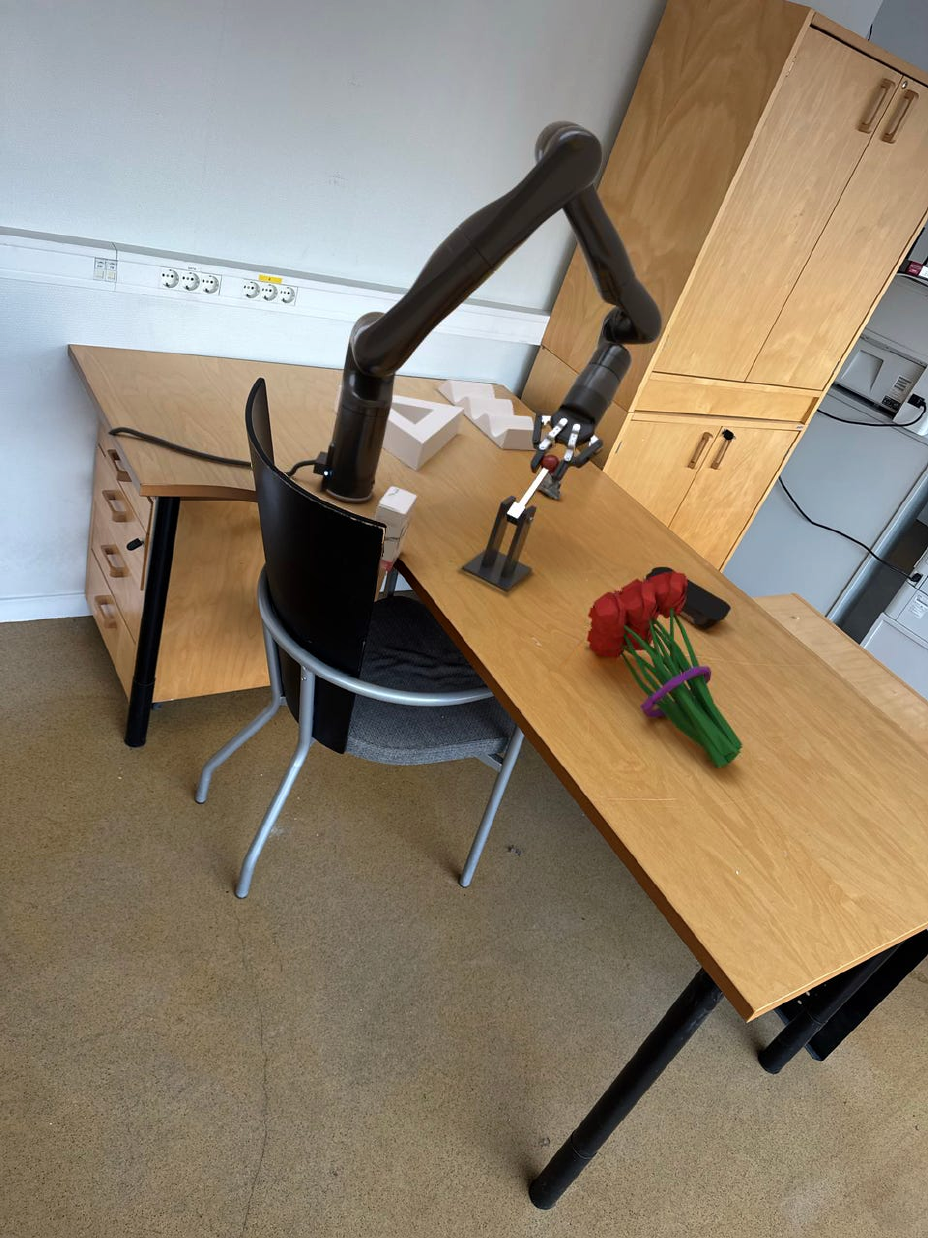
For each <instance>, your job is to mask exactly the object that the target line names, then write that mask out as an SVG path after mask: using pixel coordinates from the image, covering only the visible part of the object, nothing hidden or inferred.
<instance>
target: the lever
mask: <svg viewBox="0 0 928 1238" xmlns="http://www.w3.org/2000/svg"><path fill="white" fill-rule="evenodd" d="M560 461H561V460H560V459H559V457H558V456H557V455H555V454H546V455H545V457H544V458H543V459H542V461H541V466H540V468H541V471H540V472H539V475H537V476H536V477H537V478H536V477H535V478H536V479H535V478H534V480H533V482H532V483H531V485H530V487H529V488H528V489H527V491H526V492H525V494H524V495H523V497H522V498H521V499H520V501H519V502H516V501H515V502H514V503H513V505H512V506H511V508H510V509H509V511H508V512H507V521H508V523H510V524H512V525H514V526H516V527H517V525H518V522H519V519H520V516H521V513H522V512H523V511H524V510H526V509H527V506H528V504H529V503H530V501H531V500H532V498H533V497H534V496H535V494H536V492H537V491H539V490H538V488H539V487H540V485H541V484H542V482H543V481H544V479H545V478H546V477H547V475H548V474H553V473H554V471H555V470H556V468H557V466H558V465H559V463H560Z"/></svg>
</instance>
